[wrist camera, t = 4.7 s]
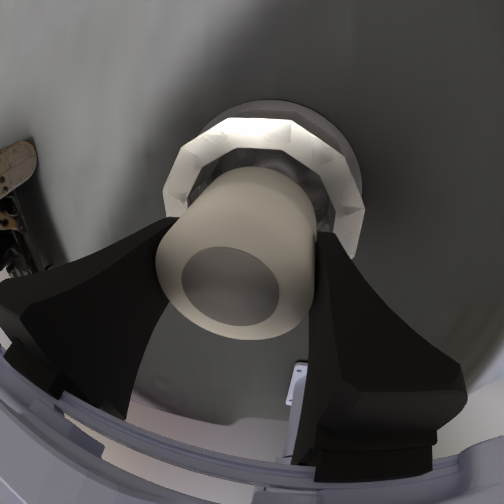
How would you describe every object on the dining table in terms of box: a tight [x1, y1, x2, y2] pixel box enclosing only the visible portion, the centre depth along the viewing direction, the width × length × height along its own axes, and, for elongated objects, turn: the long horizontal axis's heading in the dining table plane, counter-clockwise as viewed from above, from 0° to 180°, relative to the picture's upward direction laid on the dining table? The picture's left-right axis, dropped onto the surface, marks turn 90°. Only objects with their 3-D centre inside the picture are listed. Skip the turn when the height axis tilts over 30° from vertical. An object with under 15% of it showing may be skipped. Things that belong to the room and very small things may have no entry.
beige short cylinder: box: [155, 167, 316, 340], centre depth 10 cm, size 5×5×4 cm
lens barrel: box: [163, 99, 365, 259], centre depth 14 cm, size 10×10×4 cm
